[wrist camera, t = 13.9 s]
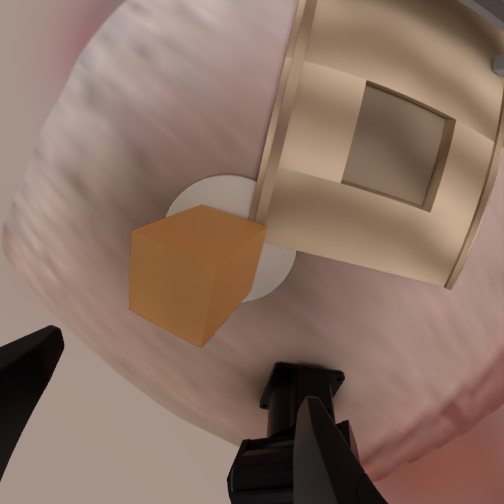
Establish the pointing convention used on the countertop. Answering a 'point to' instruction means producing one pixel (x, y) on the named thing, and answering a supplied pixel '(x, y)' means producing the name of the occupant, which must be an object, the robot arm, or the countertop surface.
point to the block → (193, 270)
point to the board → (384, 135)
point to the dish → (239, 203)
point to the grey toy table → (498, 13)
